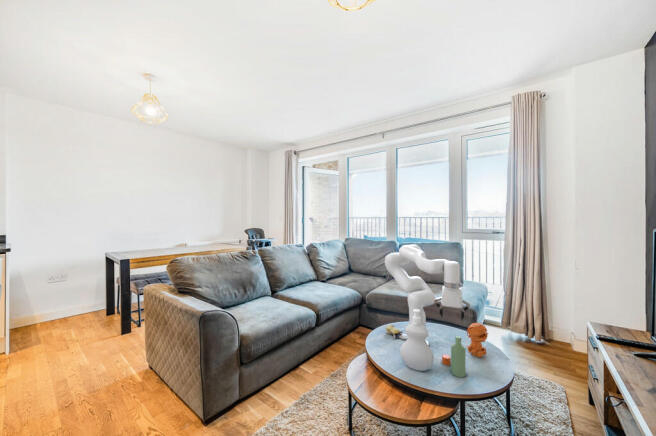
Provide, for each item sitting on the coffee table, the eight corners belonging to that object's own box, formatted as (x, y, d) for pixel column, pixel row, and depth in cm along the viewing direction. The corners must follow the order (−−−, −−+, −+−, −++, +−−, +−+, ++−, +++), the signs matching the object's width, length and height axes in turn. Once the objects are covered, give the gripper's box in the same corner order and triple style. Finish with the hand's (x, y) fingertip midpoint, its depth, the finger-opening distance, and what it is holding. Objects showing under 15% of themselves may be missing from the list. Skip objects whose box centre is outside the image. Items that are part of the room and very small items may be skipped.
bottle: (451, 375, 131) (451, 338, 131) (450, 368, 137) (450, 333, 136) (466, 378, 128) (466, 341, 128) (464, 371, 134) (465, 335, 134)
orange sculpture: (492, 360, 143) (492, 327, 143) (470, 358, 146) (470, 325, 145) (484, 350, 154) (484, 319, 154) (464, 348, 156) (464, 318, 156)
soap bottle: (436, 366, 138) (436, 309, 138) (431, 377, 129) (431, 317, 128) (404, 356, 148) (404, 304, 147) (396, 366, 138) (396, 310, 138)
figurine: (409, 340, 172) (390, 329, 182) (411, 332, 171) (391, 321, 181) (401, 345, 165) (381, 334, 176) (402, 337, 164) (382, 326, 175)
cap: (451, 365, 139) (451, 358, 139) (443, 364, 140) (443, 358, 140) (449, 361, 143) (449, 354, 143) (441, 360, 144) (441, 354, 144)
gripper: (469, 285, 141) (469, 317, 141) (434, 281, 148) (434, 312, 149) (470, 288, 134) (470, 322, 135) (433, 285, 142) (433, 317, 142)
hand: (451, 317), depth 142 cm, fingers open, 9 cm apart
